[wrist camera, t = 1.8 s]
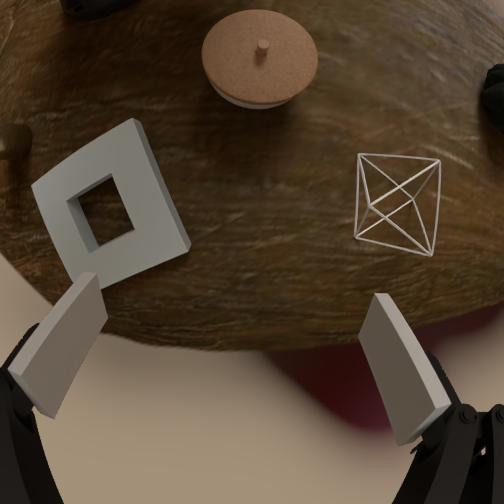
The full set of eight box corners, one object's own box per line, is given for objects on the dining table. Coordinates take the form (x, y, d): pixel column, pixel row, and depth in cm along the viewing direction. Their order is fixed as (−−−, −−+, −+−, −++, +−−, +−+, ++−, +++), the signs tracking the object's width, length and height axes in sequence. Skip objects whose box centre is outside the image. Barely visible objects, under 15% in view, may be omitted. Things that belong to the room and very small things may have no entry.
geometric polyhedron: (322, 172, 31) (355, 176, 23) (388, 137, 30) (432, 133, 22) (361, 256, 35) (396, 283, 26) (419, 217, 34) (461, 233, 25)
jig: (43, 183, 28) (31, 185, 25) (140, 121, 27) (132, 117, 24) (90, 288, 33) (81, 297, 30) (191, 244, 32) (188, 251, 29)
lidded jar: (287, 36, 25) (307, -1, 17) (307, 111, 29) (337, 93, 20) (199, 47, 25) (191, 9, 16) (216, 126, 28) (211, 109, 20)
